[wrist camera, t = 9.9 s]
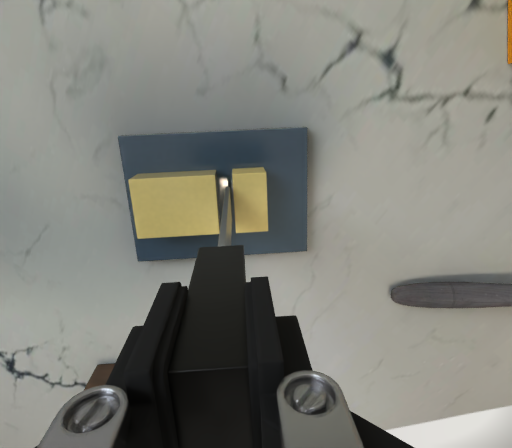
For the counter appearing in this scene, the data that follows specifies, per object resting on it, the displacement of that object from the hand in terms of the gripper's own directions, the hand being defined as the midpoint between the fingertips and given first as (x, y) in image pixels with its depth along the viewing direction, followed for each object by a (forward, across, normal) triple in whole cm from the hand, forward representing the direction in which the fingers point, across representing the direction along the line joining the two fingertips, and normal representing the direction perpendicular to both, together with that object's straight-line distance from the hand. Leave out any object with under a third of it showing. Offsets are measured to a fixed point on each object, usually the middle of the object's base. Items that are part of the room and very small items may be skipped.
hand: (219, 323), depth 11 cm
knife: (+15, 0, 0) cm, 15 cm away
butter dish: (+18, +1, 0) cm, 18 cm away
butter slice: (+17, -2, 0) cm, 17 cm away
